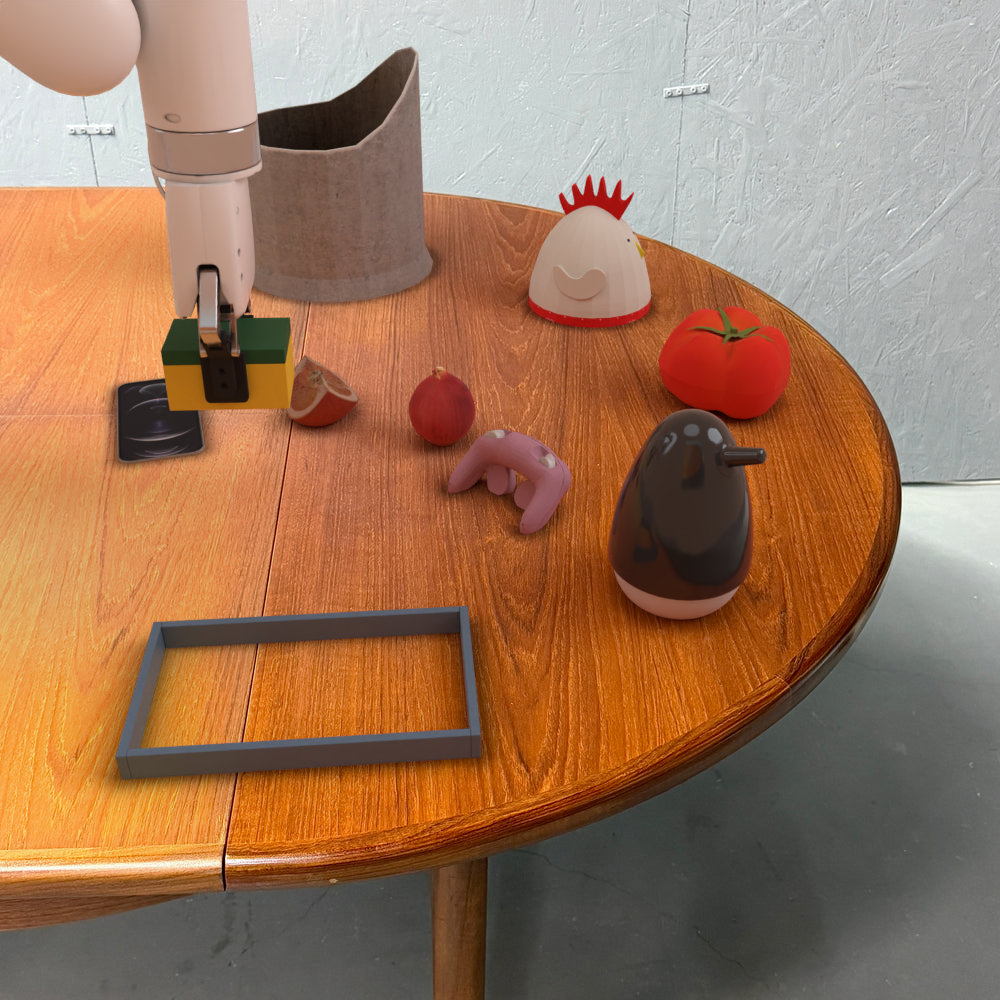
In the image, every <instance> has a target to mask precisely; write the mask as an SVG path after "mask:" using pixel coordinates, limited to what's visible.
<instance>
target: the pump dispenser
mask: <svg viewBox="0 0 1000 1000" xmlns="http://www.w3.org/2000/svg"><path fill="white" fill-rule="evenodd" d="M767 454H768V453H767V451H766V449H765V448H764V447H755V446H739V445H738V443H737V441H736V439H735V437H734V435H733V433H732V431H731V430H730V428H729V427H728V425H727V424H726V423H725V421H723V419H721V418H720V417H719V416H717V415H715V414H714V413H713V412H710V411H705V410H701V409H698V408H684V409H679V410H676V411H673V412H672V413H670V414H668V415H666V416H665V417H664V418H662V419H661V420H660V421H659V422H658V423H657V424H656V426H655V427H653V429H652V430H651V431H650V433H649V435H648V436H647V437H646V439H645V440H644V441H643V443H642V444H641V447H640V448H639V449H638V452H637V453H636V455H635V457H634V458H633V461H632V463H631V465H630V467H629V468H628V470H627V473H626V476H625V477H624V480H623V483H622V485H621V488H620V491H619V493H618V496H617V500H616V503H615V506H614V511H613V515H612V519H611V523H610V526H609V527H610V528H609V531H608V537H607V558H608V562H609V564H610V566H611V568H612V570H613V573H614V576H615V579H616V581H617V583H618V585H619V586H620V588H621V590H622V591H623V593H624V594H625V596H626V597H627V598H628V599H629V600H630V601H631V602H632V603H634V605H636V606H637V607H638V608H640V609H642V610H643V611H645V612H647V613H649V614H652V615H653V616H657V617H661V618H665V619H669V620H693V619H698V618H702V617H705V616H708V615H710V614H712V613H714V612H716V611H717V610H719V609H721V608H722V607H723V606H725V605H726V604H727V603H728V602H729V601H730V600H731V599H732V598H733V597H734V595H735V594H736V592H738V589H739V588H740V586H741V585H742V584H743V583H744V582H745V581H746V580H747V578H748V576H749V574H750V572H751V567H752V563H753V555H754V513H753V504H752V502H753V501H752V496H751V489H750V485H749V480H748V475H747V471H746V468H745V467H749V466H756V465H757V466H758V465H762V464H764V463H765V462H766V461H767V456H768V455H767Z"/></svg>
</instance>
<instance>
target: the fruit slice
mask: <svg viewBox="0 0 1000 1000" xmlns="http://www.w3.org/2000/svg"><path fill="white" fill-rule="evenodd" d="M294 372H295V375H294V382H293V388H292V395H291V402H290V408H287V409H285V411H286V415H287V416H288V418H290V419H291V420H293V421H294V422H295V423H297V424H299V425H302V426H306V427H314V428H315V427H325V426H329V425H332V424H334V423H336V422H338V421H340V420H341V419H343V418H344V417H346V416H347V415H348V414H349V413H350V412H351V411H352V410H353V409H354V408H355V407H356V406H357V404H358V403H359V401H360V396H359V395H358V394H357V392H356V391H355V390H354V388H352V386H351V385H350V384H349V383H348V382H347V380H345V379H344V378H343V377H342V376H341V375H339V374H338V373H336V372H335V371H333V370H331V369H330V368H328V367H327V366H326V365H324V364H322V363H320V362H318V361H317V360H314V359H313V358H312V357H310V356H308V355H306V354H304V355H303V356H302V358H301V359H300V361H298V363H297V364H296V365H295V366H294Z"/></svg>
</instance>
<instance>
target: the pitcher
mask: <svg viewBox="0 0 1000 1000" xmlns="http://www.w3.org/2000/svg"><path fill="white" fill-rule="evenodd" d="M419 63H420V62H419V52H418V51H417V50H416V49H415V48H414V47H413V46H407V47H403V48H399V49H396V50H395V51H394V52H393V53H392V54H390V56H388V57H387V58H386V59H384V60H383V61H382V62H381V63H380V64H379V65H377V66H376V67H375V68H374V69H373V70H372V71H371V72H369V73H368V74H367V75H366V76H364V77H363V78H362V79H361V80H360V81H359V82H358V83H357V84H355V85H354V86H352V87H351V88H349V89H347V90H346V91H344V92H342V93H339V94H338V95H336V96H334V97H333V98H331V99H329V100H323V101H318V102H317V101H316V102H312V103H305V104H297V105H290V106H284V107H277V108H272V109H269V110H265V111H261V112H257V116H258V126H259V136H260V147H261V158H262V169H261V170H260V171H259V172H258V173H255V174H254V175H252V176H249V177H247V178H248V187H249V195H250V204H251V214H252V225H253V237H254V254H255V276H254V282H253V286H252V287H254V288H255V289H256V290H258V291H261V292H263V293H266V294H269V295H272V296H274V297H277V298H282V299H288V300H294V301H300V302H305V303H306V302H307V303H345V302H347V303H348V302H354V301H365V300H372V299H377V298H381V297H385V296H388V295H393V294H398V293H400V292H402V291H404V290H406V289H409V288H411V287H413V286H416V285H418V284H420V283H421V282H422V281H423V280H424V279H426V278H427V277H428V276H429V275H430V274H431V272H432V269H433V265H434V261H433V258H432V256H431V254H430V252H429V249H428V247H427V244H426V234H425V205H424V202H425V201H424V177H423V176H424V175H423V149H422V123H421V120H422V119H421V118H422V117H421V99H420V98H421V96H420V95H421V93H420V92H421V91H420V67H419V66H420V65H419ZM147 154H148V160H149V165H150V170H151V173H152V177H153V181H154V183H155V186H156V188H157V190H158V192H159V194H160V195H161V197H162V198H163V199H164V201H165V189H164V188H163V185H162V184H161V181H160V179H159V177H158V176H156V175H154V173H153V172H152V167H151V159H150V153H149V146H148V145H147Z"/></svg>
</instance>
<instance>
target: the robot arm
mask: <svg viewBox="0 0 1000 1000" xmlns="http://www.w3.org/2000/svg"><path fill="white" fill-rule="evenodd" d="M0 58H2V59H3V60H5V61H6V62H7V63H9V64H10V65H12V67H14V68H15V69H17V70H18V71H20V72H21V73H23V74H24V75H25V76H27V77H28V78H29V79H31V80H32V81H34V82H35V83H36V84H39V85H41V86H43V87H45V88H47V89H49V90H52V91H54V92H56V93H58V94H63V95H67V96H71V97H92V96H99V95H102V94H104V93H107V92H109V91H111V90H113V89H114V88H116V87H117V86H119V85H120V84H122V82H124V80H125V79H126V78H127V77H128V76H129V75H130V73H131V72H132V71H133V69H134V67H136V70H137V77H138V78H137V79H138V85H139V91H140V97H141V104H142V112H143V118H144V124H145V125H144V126H145V132H146V139H147V147H148V146H149V153H150V159H151V166H150V168H151V167H152V170H151V173H152V172H153V173H154V175H156V176H158V178H160V179H163V180H164V188H165V189H164V191H165V200H164V201H165V221H166V233H167V242H168V252H169V253H168V254H169V265H170V272H171V273H170V274H171V284H172V293H173V303H174V312H175V314H176V316H177V317H178V319H188V318H192V316H193V313H194V311H195V308H196V312H197V313H196V315H197V318H198V332H199V348H200V354H199V356H200V363H201V371H202V378H203V385H204V393H205V399H206V401H207V402H208V403H244V402H247V401H248V399H249V388H248V379H247V370H246V361H245V352H244V351H240V340H239V322H238V318H255V316H254V314H252V302H251V301H252V300H251V294H252V289H253V287H254V286H253V282H254V276H255V254H254V237H253V225H252V214H251V204H250V195H249V187H248V178H247V177H249V176H252V175H254V174H255V173H258V172H259V171H260V170H261V169H262V158H261V147H260V136H259V126H258V116H257V113H258V106H257V105H258V104H257V94H256V85H255V74H254V63H253V51H252V40H251V29H250V17H249V8H248V0H0ZM220 322H229V330H230V335H228V333H227V331H226V330H222V327H221V324H220ZM229 337H230V338H229Z"/></svg>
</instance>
